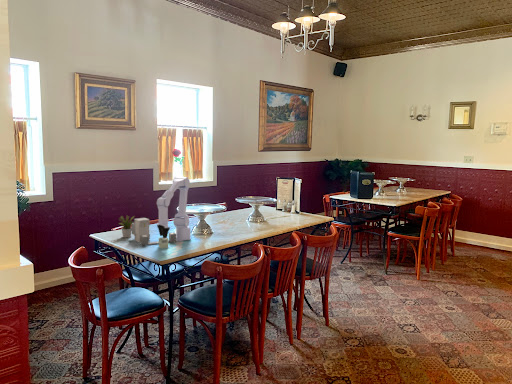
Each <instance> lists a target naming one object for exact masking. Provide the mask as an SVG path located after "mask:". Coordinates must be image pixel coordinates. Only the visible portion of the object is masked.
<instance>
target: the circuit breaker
mask: <svg viewBox="0 0 512 384" xmlns="http://www.w3.org/2000/svg"><path fill="white" fill-rule="evenodd" d="M150 221H151V220H150V219H149V218H146V217H140V218H133V223H132V225H131V228H132V231H131V235H134V241H136V242H137V243H139V244H140V243H141V236H142V235H147V236H148V242H151V240H150V239H151V234H150V226H151V223H150Z"/></svg>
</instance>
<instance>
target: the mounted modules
mask: <svg viewBox="0 0 512 384" xmlns="http://www.w3.org/2000/svg"><path fill="white" fill-rule="evenodd" d="M168 240H169V241H171V242H173V243H175V242H174V241H176V233H175V232H168ZM148 242H149V241H148V236H147V235H142V236H141V242H140V243H142V244H143V245H145V244H148ZM145 246H146V245H145Z"/></svg>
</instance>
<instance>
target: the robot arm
mask: <svg viewBox="0 0 512 384" xmlns="http://www.w3.org/2000/svg"><path fill="white" fill-rule="evenodd" d="M177 189H179V200H178V210H177V211H178V212H177V213H175V215H174V218H173V225H174V227H175V229H176V230H175V232H176V233H175V234H176V240H177V242H181V241H182V242H183V241H189V240H191V227H190V226H189V225H190V216H189V215H188V214H187V202H188V191H189V189H190V179H189V177H187V176H174V177H173V179H172V184H171V186H170V187H169V189H167V190H165V192H164V193H163V194H162V195H161V197H159V198H157V200H156V205H157V209H158V222H157V223H156V227H157V228H158V234H159V236H160V237H163V238H168V236H169V231H170V226H169V215H168V213H169V206H170V204H171V200H172V198H173V197H174V195H175V194H174V193H175V192H176V191H177Z"/></svg>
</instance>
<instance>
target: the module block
mask: <svg viewBox="0 0 512 384" xmlns="http://www.w3.org/2000/svg"><path fill="white" fill-rule="evenodd" d="M168 240H169V237H167V238H163V236H161V237H158V241H159V244H158V248H159V249H167V248H169V243H168Z"/></svg>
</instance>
